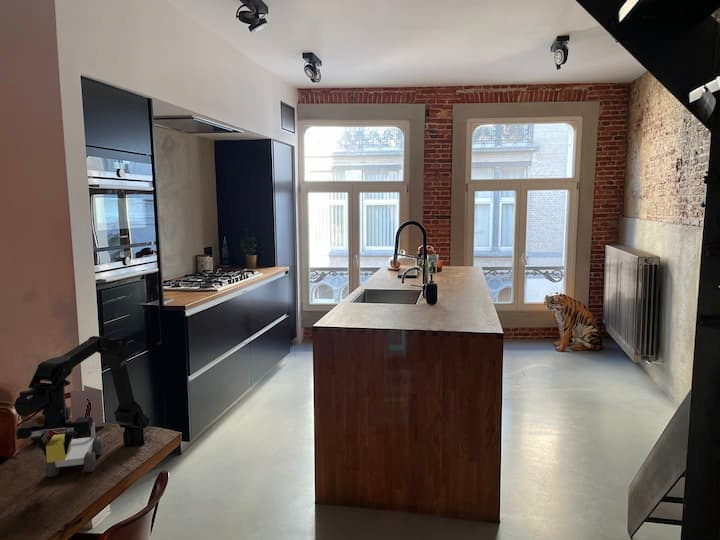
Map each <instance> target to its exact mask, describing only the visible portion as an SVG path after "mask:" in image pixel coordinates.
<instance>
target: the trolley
mask: <svg viewBox="0 0 720 540" xmlns="http://www.w3.org/2000/svg"><path fill="white" fill-rule="evenodd" d="M90 433H91V434H90V435H91V436H90V437H81V438H74V437H73V438H72V440H71V450H70V452H69V454H68V455H67V457H66V459H65V461H58V462H49V463H47V462H46V474H47V477H48V478H51V477H57V476H58V475H59V473H60V468H63V467H64V468H65V467H73V466H82V465H83V469H84V473H91V472H94V471H95V468H96V456H100V455H101V456H102V455H103V453H102V452H104V438H103V436H96V428H95V423H93V425H92V427H91V428H90Z"/></svg>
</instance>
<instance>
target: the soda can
mask: <svg viewBox="0 0 720 540" xmlns="http://www.w3.org/2000/svg"><path fill="white" fill-rule="evenodd" d="M66 432H67V429H63V430H54V431H47V437H48V436H49V437H48V438H52V437H53V436H54V435H59V434H66Z"/></svg>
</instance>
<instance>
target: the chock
mask: <svg viewBox="0 0 720 540" xmlns="http://www.w3.org/2000/svg"><path fill="white" fill-rule="evenodd" d="M65 434H66V433H63V434H59V435H54V436H53V437H50V438H51V439H50V440H49V441H48V444H47V445H46V455H47V457H46V464H47V463H49V462H58V461H65V459H66V457H67V455H68V454H69V452H70V450H71V444H70V447H69V450H68V454H67V455H65ZM46 455H45V456H46Z"/></svg>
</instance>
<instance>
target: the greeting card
mask: <svg viewBox="0 0 720 540" xmlns="http://www.w3.org/2000/svg"><path fill="white" fill-rule="evenodd" d="M82 387H83V390H70V403H71V404H70V406H71V407H70V408H71V418H72V419H71V422H75V421H76V419H77V418H78V417H85V413H86V409H87V405H88V402H89V401H90V403H91V411H90V417H91V418H92V419H93V423H95V426H104V427H105V422H104V408H103V407H104V405H103V403H104V402H103V389H101V388H95V387H92V386H89V385H88V386H87V385H83V386H82ZM87 399H89V401H87ZM102 423H103V424H102Z"/></svg>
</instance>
